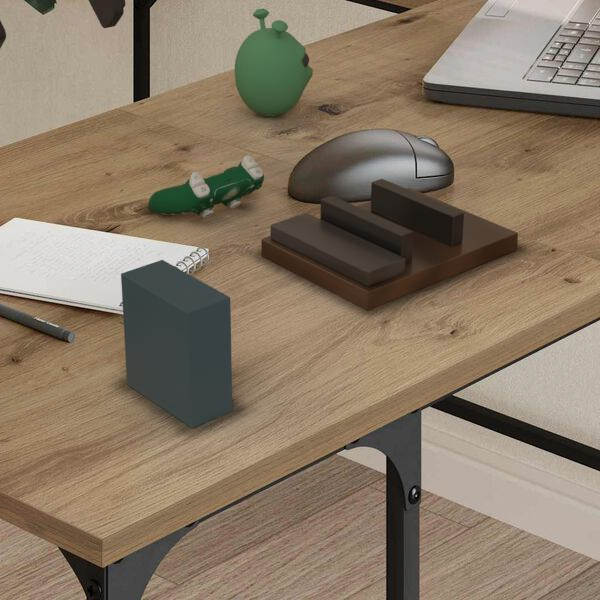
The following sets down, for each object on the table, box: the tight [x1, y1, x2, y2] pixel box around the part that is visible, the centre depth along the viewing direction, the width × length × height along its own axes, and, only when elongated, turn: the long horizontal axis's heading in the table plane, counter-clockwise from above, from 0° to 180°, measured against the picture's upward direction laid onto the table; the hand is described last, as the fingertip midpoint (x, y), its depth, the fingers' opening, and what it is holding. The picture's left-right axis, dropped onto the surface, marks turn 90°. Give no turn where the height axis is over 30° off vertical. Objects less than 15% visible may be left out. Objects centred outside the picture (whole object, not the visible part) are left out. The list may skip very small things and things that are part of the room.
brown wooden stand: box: [260, 178, 519, 311], centre depth 109 cm, size 16×12×4 cm
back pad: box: [120, 259, 233, 429], centre depth 88 cm, size 3×7×8 cm, turn 41°
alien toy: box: [234, 8, 314, 117], centre depth 136 cm, size 7×8×10 cm
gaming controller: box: [147, 154, 265, 219], centre depth 116 cm, size 9×4×6 cm
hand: (58, 33), depth 88 cm, fingers open, 8 cm apart
